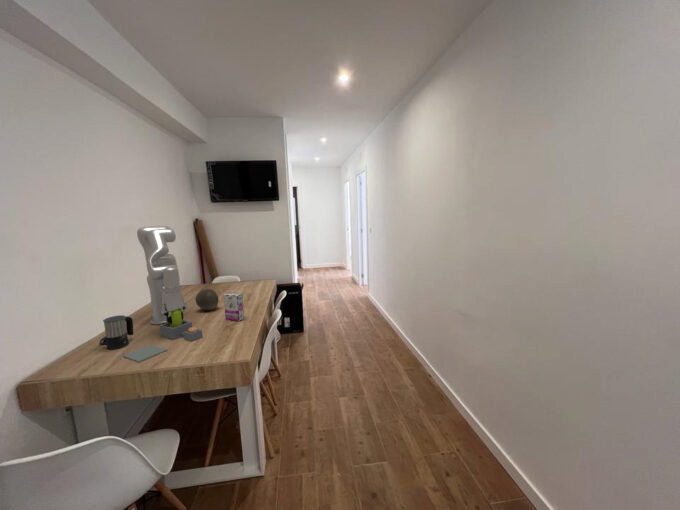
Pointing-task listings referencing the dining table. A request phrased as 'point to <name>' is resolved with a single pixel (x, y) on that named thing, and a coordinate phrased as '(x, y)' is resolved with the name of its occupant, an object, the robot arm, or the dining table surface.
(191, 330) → the tan ball
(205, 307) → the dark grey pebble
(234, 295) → the candy bar box
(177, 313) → the soap dispenser
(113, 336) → the milk frother
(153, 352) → the mat
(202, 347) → the dining table surface
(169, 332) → the holder
